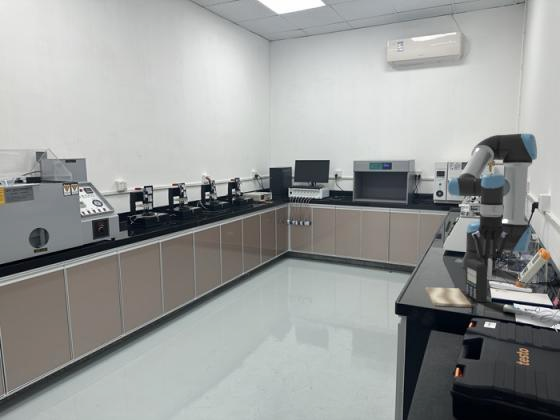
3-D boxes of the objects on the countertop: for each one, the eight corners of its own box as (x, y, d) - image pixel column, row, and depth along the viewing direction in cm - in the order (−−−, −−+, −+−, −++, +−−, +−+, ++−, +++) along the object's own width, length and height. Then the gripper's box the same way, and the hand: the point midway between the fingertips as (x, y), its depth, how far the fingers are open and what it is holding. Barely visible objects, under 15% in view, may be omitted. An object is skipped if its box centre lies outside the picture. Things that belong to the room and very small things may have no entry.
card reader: (464, 295, 155) (464, 258, 153) (473, 294, 156) (473, 258, 154) (477, 303, 146) (477, 265, 144) (487, 302, 147) (488, 264, 145)
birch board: (458, 290, 161) (458, 288, 160) (471, 307, 143) (471, 304, 143) (425, 289, 163) (425, 287, 163) (434, 305, 145) (434, 303, 145)
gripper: (475, 216, 143) (473, 278, 146) (514, 216, 141) (510, 279, 144) (469, 214, 151) (467, 272, 154) (505, 213, 148) (502, 273, 151)
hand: (488, 275), depth 149 cm, fingers closed
